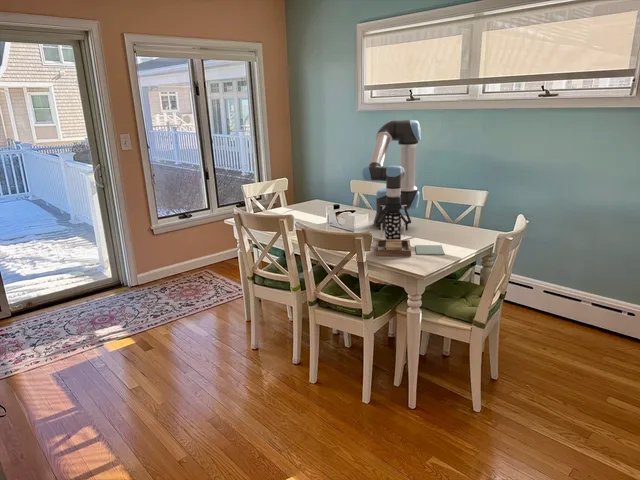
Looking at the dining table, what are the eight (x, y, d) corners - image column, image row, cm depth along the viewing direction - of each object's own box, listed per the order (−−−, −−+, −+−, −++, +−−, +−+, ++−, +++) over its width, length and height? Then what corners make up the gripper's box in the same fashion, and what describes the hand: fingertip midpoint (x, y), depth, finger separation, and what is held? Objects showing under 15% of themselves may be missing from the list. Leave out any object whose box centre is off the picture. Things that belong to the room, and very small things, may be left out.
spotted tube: (402, 247, 241) (403, 211, 235) (397, 251, 234) (397, 215, 228) (388, 245, 245) (388, 210, 239) (382, 249, 238) (382, 213, 232)
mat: (415, 246, 242) (415, 245, 242) (441, 246, 240) (441, 245, 240) (416, 254, 229) (416, 253, 229) (444, 254, 227) (444, 253, 227)
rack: (376, 245, 247) (376, 239, 246) (409, 245, 244) (409, 240, 243) (375, 255, 230) (375, 250, 229) (411, 256, 227) (411, 250, 226)
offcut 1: (385, 243, 234) (385, 239, 233) (401, 244, 232) (401, 239, 232) (385, 246, 229) (385, 242, 228) (401, 247, 228) (401, 242, 227)
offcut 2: (385, 248, 234) (385, 244, 233) (401, 248, 233) (401, 243, 233) (386, 251, 229) (386, 247, 229) (402, 251, 229) (402, 246, 228)
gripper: (370, 197, 229) (370, 237, 236) (417, 197, 226) (416, 238, 232) (370, 194, 236) (370, 233, 243) (416, 194, 233) (415, 233, 239)
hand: (393, 235), depth 237 cm, fingers open, 11 cm apart
